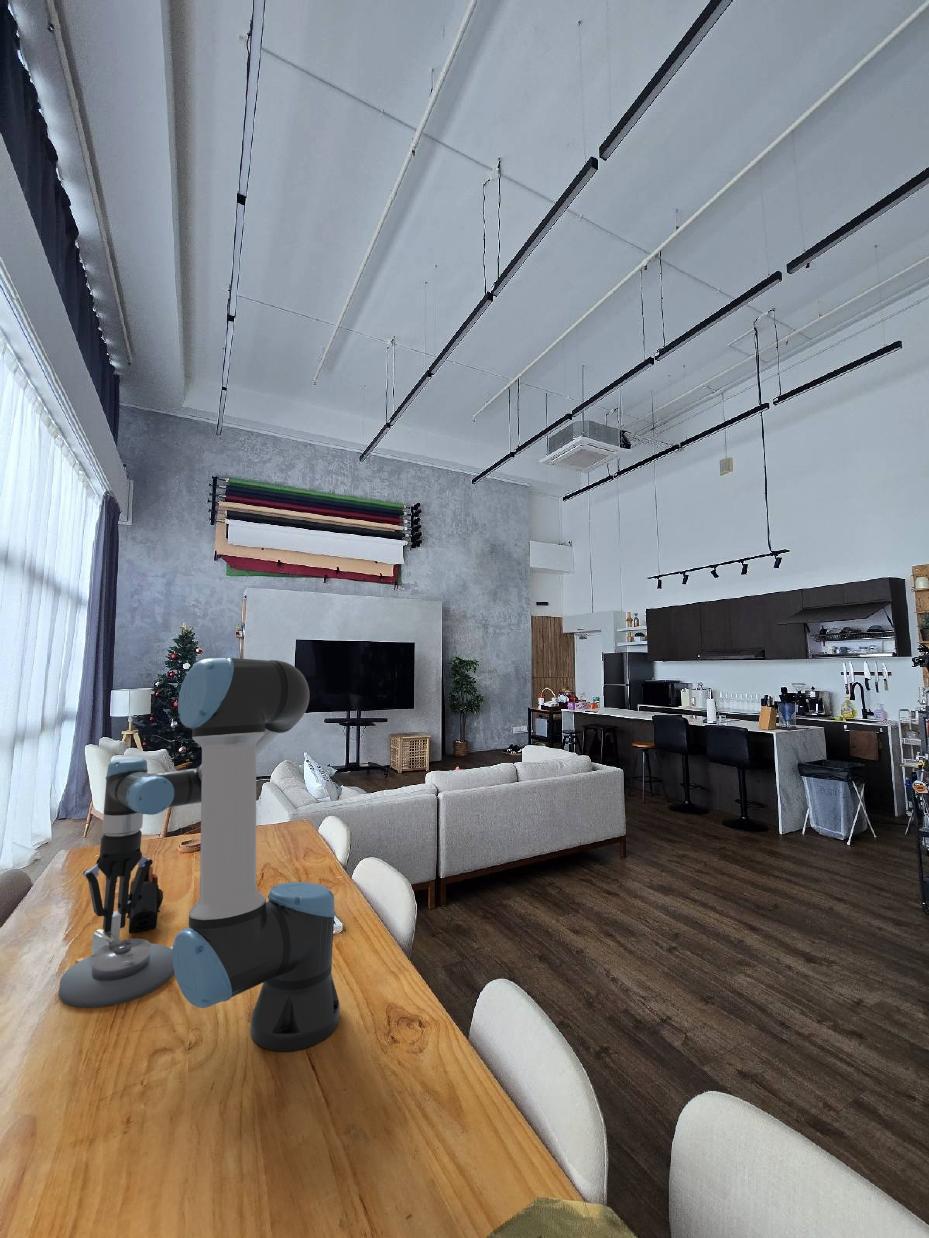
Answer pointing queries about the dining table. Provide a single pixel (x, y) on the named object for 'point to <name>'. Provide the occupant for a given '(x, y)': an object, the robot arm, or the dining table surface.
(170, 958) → the dial plate
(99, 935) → the dial
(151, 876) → the tool
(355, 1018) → the dining table surface
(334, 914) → the robot arm
